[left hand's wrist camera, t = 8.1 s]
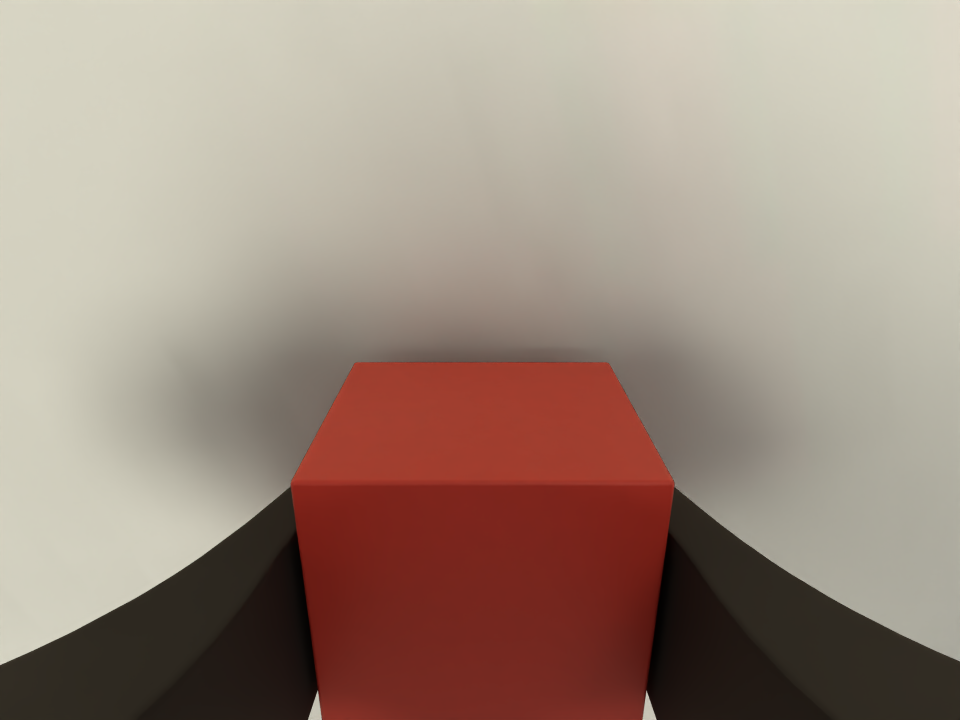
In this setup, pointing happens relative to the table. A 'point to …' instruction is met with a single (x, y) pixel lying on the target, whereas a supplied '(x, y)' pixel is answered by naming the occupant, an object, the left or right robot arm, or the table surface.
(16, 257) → the table surface
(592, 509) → the brick
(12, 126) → the table surface
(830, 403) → the table surface
